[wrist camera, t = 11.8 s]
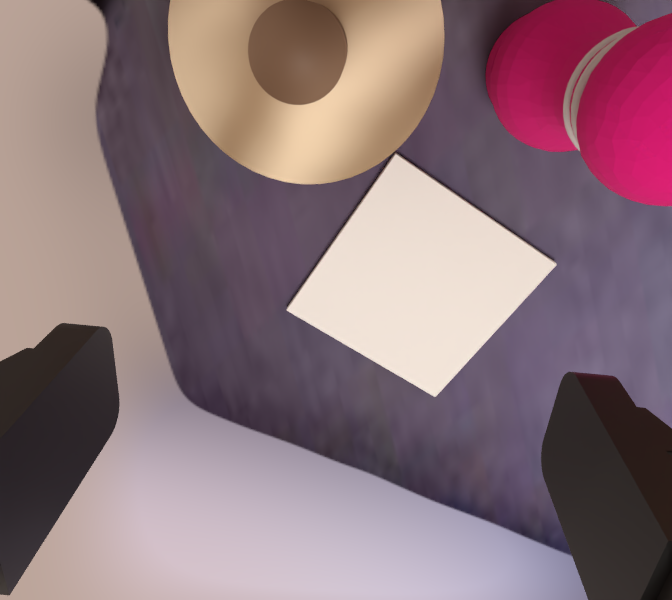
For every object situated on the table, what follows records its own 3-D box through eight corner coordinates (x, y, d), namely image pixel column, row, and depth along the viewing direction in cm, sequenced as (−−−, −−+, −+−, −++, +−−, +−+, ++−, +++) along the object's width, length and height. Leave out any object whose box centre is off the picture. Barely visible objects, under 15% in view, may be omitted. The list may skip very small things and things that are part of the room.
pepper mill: (464, 126, 34) (575, 249, 16) (493, -10, 31) (671, -41, 13) (582, 141, 34) (821, 280, 16) (623, 8, 31) (976, 0, 13)
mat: (554, 261, 38) (556, 264, 37) (434, 393, 43) (435, 397, 43) (395, 152, 35) (395, 153, 35) (287, 306, 40) (286, 310, 40)
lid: (499, 3, 26) (526, 2, 22) (344, 225, 32) (341, 258, 27) (256, -190, 24) (233, -235, 19) (129, 87, 29) (89, 100, 24)
